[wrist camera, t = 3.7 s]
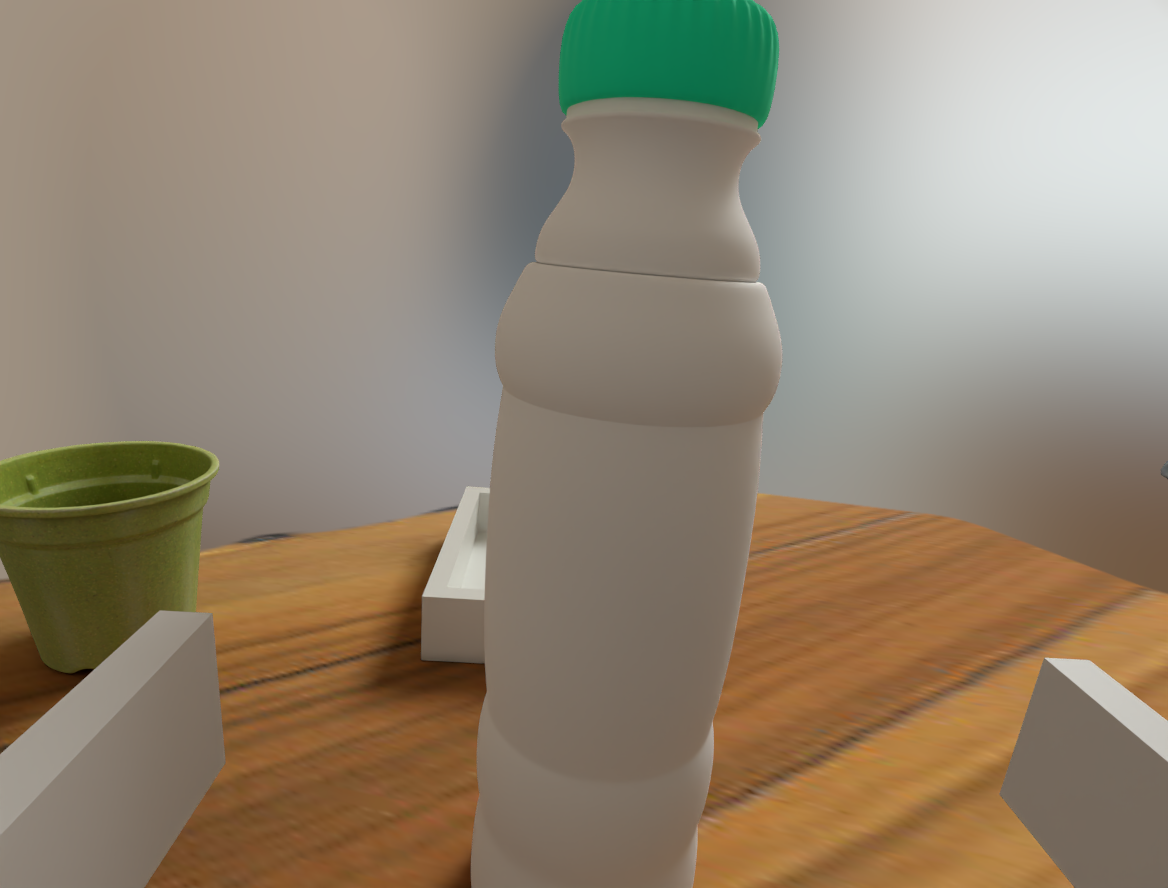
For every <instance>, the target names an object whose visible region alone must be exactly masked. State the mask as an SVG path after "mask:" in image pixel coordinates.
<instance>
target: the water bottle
mask: <svg viewBox="0 0 1168 888" xmlns="http://www.w3.org/2000/svg"><path fill="white" fill-rule="evenodd" d="M778 58H779V40H778V32H777V30H776V25H775V23H774V21H773V19H772V17H771V16H770V15H769V14H768V13H767V11H766V10H765V9H764V8H763V7H762V6H761V5H759V4H757V3H755V2H754V1H753V0H582V2H580V3H579V4H578V5H576V6H575V8H574V10H573V11H572V12H571V14H570V16H569V19H568V21H567V24H566V26H565V30H564V34H563V38H562V45H561V52H560V64H559V100H560V106H561V109H562V112H563V113H564V114H565V115H566V116H567V117H566V119H565V120H564V121H563V122H562V124H561V126H562V130H563V131H564V132H565V133H566V134H567V135H568V137H569V138H570V140H571V142H572V144H573V148H574V152H575V165H574V173H573V176H572V180H571V182H570V185H569V187H568V189H567V191H566V192H565V194H564V196H563V197H562V199H561V200H560V202H559V203H558V205H557V206H556V207H555V209H554V210H553V212H552V213H551V215H550V216H549V217H548V219H547V221H546V222H545V224H544V226H543V228H542V230H541V232H540V235H539V238H538V241H537V245H536V251H535V258H536V261H537V262H531V263H529V264H528V265H527V266H526V267H525V269H524V270H523V272H522V274H521V275H520V277H519V279H518V281H517V283H516V285H515V287H514V288H513V290H512V292H511V294H510V296H509V298H508V300H507V302H506V304H505V306H504V308H503V311H502V314H501V316H500V319H499V323H498V327H497V332H496V340H495V359H496V367H497V371H498V374H499V377H500V380H501V382H502V384H503V390H502V396H501V403H500V409H499V415H498V422H497V429H496V436H495V437H496V438H495V444H494V452H493V463H492V473H491V483H490V496H489V510H488V527H487V545H486V568H485V600H484V651H485V673H486V687H487V693H486V696H485V699H484V703H483V706H482V711H481V716H480V722H479V730H478V741H477V778H478V787H479V793H480V795H479V799H478V804H477V809H476V814H475V821H474V829H473V839H472V852H471V887H472V888H693V882H694V875H695V866H696V856H697V825H698V823H699V820H700V817H701V815H702V812H703V809H704V805H705V802H706V798H707V794H708V789H709V784H710V778H711V772H712V764H713V753H714V733H713V719H714V715H715V712H716V709H717V705H718V702H719V699H720V695H721V691H722V687H723V683H724V680H725V676H726V671H727V667H728V663H729V658H730V654H731V649H732V644H733V639H734V634H735V629H736V624H737V619H738V614H739V608H740V603H741V597H742V591H743V586H744V580H745V574H746V568H747V562H748V555H749V549H750V543H751V536H752V529H753V522H754V515H755V507H756V499H757V490H758V481H759V470H760V459H761V443H762V426H763V412H764V411H765V409H766V408H767V407H768V405H769V404H770V402H771V400H772V398H773V396H774V394H775V392H776V389H777V386H778V383H779V379H780V373H781V367H782V343H781V337H780V332H779V328H778V324H777V320H776V317H775V314H774V311H773V308H772V304H771V301H770V298H769V294H768V291H767V289H766V287H765V286H764V285H763V284H762V283H759V282H756V281H757V280H758V278H759V274H760V255H759V249H758V245H757V242H756V239H755V236H754V234H753V232H752V230H751V227H750V225H749V223H748V221H747V218H746V216H745V214H744V211H743V209H742V206H741V202H740V198H739V191H738V182H739V174H740V169H741V166H742V163H743V161H744V159H745V158H746V156H747V155H748V153H749V152H750V151H751V150H752V149H753V148H754V147H756V146H757V145H758V144H759V142H760V141H761V136H760V135H759V133H757V129H759V128H760V127H761V126H762V125H763V124H764V123H765V121H766V119H767V117H768V114H769V111H770V108H771V104H772V99H773V95H774V90H775V83H776V77H777V70H778Z"/></svg>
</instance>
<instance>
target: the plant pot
mask: <svg viewBox="0 0 1168 888" xmlns="http://www.w3.org/2000/svg"><path fill="white" fill-rule="evenodd" d="M218 470H219V460H218V458H217V457H216V456H215V455H214V454H212V453H211V452H209V451H206V450H204V449H202V448H198V447H196V446H188V445H185V444H179V443H169V442H154V441H133V442H132V441H125V442H109V443H95V444H83V445H74V446H68V447H60V448H55V449H48V450H41V451H36V452H31V453H27V454H22V455H18V456H15V457H12V458H8V459H4V460H2V461H0V558H1V560H2V562H3V565H4V567H5V570H6V572H7V574H8V577H9V579H10V581H11V584H12V586H13V588H14V591H15V593H16V596H17V598H18V601H19V603H20V606H21V608H22V611H23V613H24V616H25V618H26V621H27V624H28V626H29V629H30V632H31V634H32V637H33V639H34V641H35V644H36V646H37V649H38V652H39V654H40V657H41V660H42V661H43V662H44V663H45V664H46V665H47V666H49V667H50V668H52V669H54V670H57V671H60V672H64V673H75V672H77V671H79V670H82V669H95V668H97V667H98V666H99V665H100V664H101V663H102V662H103V661H104V660H105V659H107V658H108V657H109V656H110V655H111V654H112V653H113V652H114V651H115V650H117V649H118V648H119V647H120V646H121V645H122V644H123V643H124V642H125V641H126V640H128V639H129V638H130V637H131V636H132V635H133V634H134V633H135V632H136V631H138V630H139V629H140V628H141V627H142V626H143V625H144V624H145V623H146V622H148V621H149V620H150V619H151V618H152V617H153V616H154V615H155V614H156V613H158V612H159V611H160V610H161V611H180V612H196V600H197V584H198V570H199V556H200V541H201V526H202V514H203V507H204V505H205V504H206V502H207V500H208V497H209V489H210V480H212V479H213V478H214V477H215V476H216V474H217V472H218Z"/></svg>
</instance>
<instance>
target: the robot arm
mask: <svg viewBox="0 0 1168 888" xmlns="http://www.w3.org/2000/svg"><path fill="white" fill-rule="evenodd" d="M224 764H225V752H224V741H223V729H222V718H221V706H220V695H219V684H218V672H217V661H216V649H215V638H214V626H213V615H212V613H198V612H180V611H161V610H160V611H159V612H158V613H156V614H155V615H154V616H153V617H152V618H151V619H150V620H149V621H148V622H146V623H145V624H144V625H143V626H142V627H141V628H140V629H139V630H138V631H136V632H135V633H134V634H133V635H132V636H131V637H130V638H129V639H128V640H126V641H125V642H124V643H123V644H122V645H121V646H120V647H119V648H118V649H117V650H115V651H114V652H113V653H112V654H111V655H110V656H109V657H108V658H107V659H105V660H104V661H103V662H102V663H101V664H100V665H99V666H98V667H97V668H95V669H94V670H93V671H92V672H91V673H90V674H89V675H88V676H87V677H86V678H84V679H83V680H82V681H81V682H80V683H79V684H78V685H77V686H76V687H74V688H73V689H72V690H71V691H70V692H69V693H68V694H67V695H66V696H64V697H63V698H62V699H61V700H60V701H59V702H58V703H57V704H56V705H55V706H53V707H52V708H51V709H50V710H49V711H48V712H47V713H46V714H45V715H43V716H42V717H41V718H40V719H39V720H38V721H37V722H36V723H35V724H33V725H32V726H31V727H30V728H29V729H28V730H27V731H26V732H25V733H24V734H22V735H21V736H20V737H19V738H18V739H17V740H16V741H15V742H14V743H12V744H11V745H10V746H9V747H8V748H7V749H6V750H5V751H4V752H2V753H1V754H0V888H144V887H145V886H146V884H147V883H148V881H149V880H150V878H151V876H152V875H153V873H154V872H155V870H156V869H157V867H158V866H159V864H160V863H161V861H162V860H163V858H164V857H165V855H166V853H167V852H168V850H169V849H170V847H171V846H172V844H173V843H174V841H175V840H176V838H177V837H178V835H179V833H180V832H181V830H182V829H183V827H184V826H185V824H186V823H187V821H188V820H189V818H190V817H191V815H192V813H193V812H194V810H195V809H196V807H197V806H198V804H199V803H200V801H201V800H202V798H203V797H204V795H205V794H206V792H207V790H208V789H209V787H210V786H211V784H212V783H213V781H214V780H215V778H216V777H217V775H218V774H219V772H220V770H221V769H222V767H223V766H224ZM1000 796H1001V797H1002V798H1003V799H1004V800H1005V802H1006V803H1007V804H1008V805H1009V807H1010V808H1011V809H1012V810H1013V812H1014V813H1015V814H1016V815H1017V817H1018V818H1019V819H1020V820H1021V822H1022V823H1023V824H1024V825H1025V827H1026V828H1027V829H1028V830H1029V831H1030V833H1031V834H1032V835H1033V836H1034V838H1035V839H1036V840H1037V841H1038V843H1039V844H1040V845H1041V846H1042V848H1043V849H1044V850H1045V851H1046V853H1047V854H1048V855H1049V856H1050V857H1051V859H1052V860H1053V861H1054V862H1055V864H1056V865H1057V866H1058V867H1059V869H1060V870H1061V871H1062V872H1063V874H1064V875H1065V876H1066V877H1067V879H1068V880H1069V881H1070V882H1071V884H1072V885H1073V886H1074V887H1075V888H1168V721H1167V720H1166V719H1164V718H1163V717H1162V716H1160V715H1159V714H1158V713H1157V712H1155V711H1154V710H1153V709H1151V708H1150V707H1149V706H1148V705H1146V704H1145V703H1144V702H1142V701H1141V700H1140V699H1139V698H1137V697H1136V696H1135V695H1133V694H1132V693H1131V692H1130V691H1128V690H1127V689H1126V688H1124V687H1123V686H1122V685H1121V684H1119V683H1118V682H1117V681H1115V680H1114V679H1113V678H1112V677H1110V676H1109V675H1108V674H1106V673H1105V672H1104V671H1102V670H1101V669H1100V668H1099V667H1097V666H1096V665H1095V664H1093V663H1092V662H1091V661H1090V660H1076V659H1058V658H1044V660H1043V663H1042V666H1041V669H1040V673H1039V676H1038V679H1037V682H1036V685H1035V688H1034V691H1033V694H1032V697H1031V700H1030V703H1029V706H1028V709H1027V712H1026V715H1025V718H1024V721H1023V724H1022V727H1021V730H1020V733H1019V736H1018V740H1017V743H1016V746H1015V749H1014V752H1013V755H1012V758H1011V761H1010V764H1009V767H1008V770H1007V773H1006V776H1005V779H1004V782H1003V785H1002V788H1001V791H1000Z"/></svg>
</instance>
